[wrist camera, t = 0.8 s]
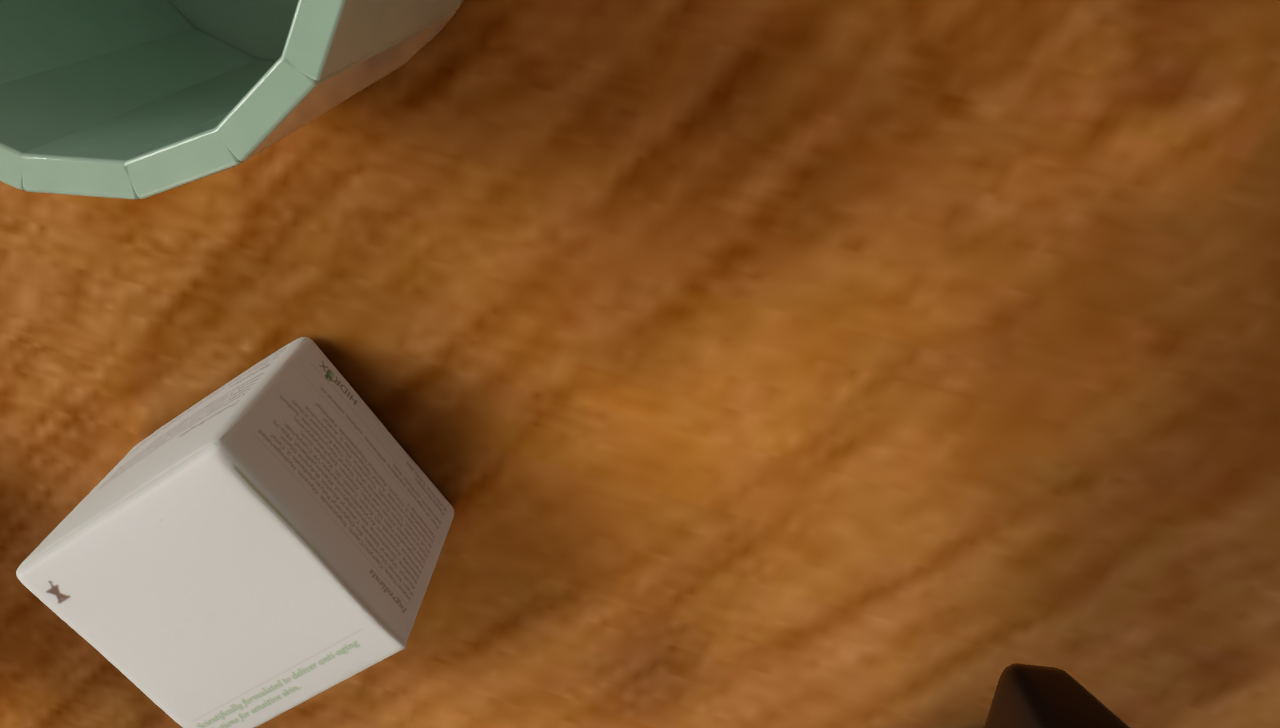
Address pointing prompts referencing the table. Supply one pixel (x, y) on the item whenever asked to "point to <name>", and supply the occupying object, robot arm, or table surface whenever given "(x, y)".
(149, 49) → the cup
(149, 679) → the small box
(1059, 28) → the table surface
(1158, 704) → the table surface
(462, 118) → the table surface
